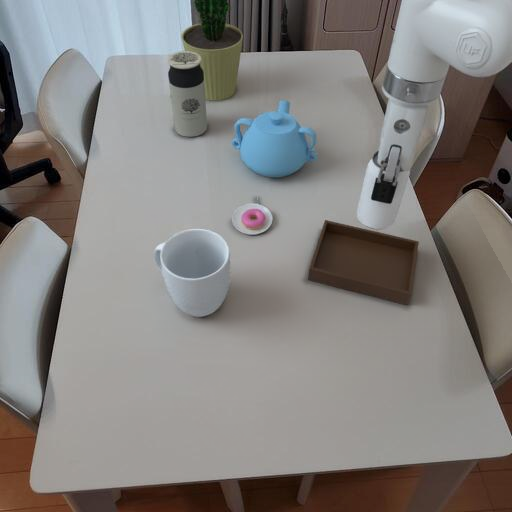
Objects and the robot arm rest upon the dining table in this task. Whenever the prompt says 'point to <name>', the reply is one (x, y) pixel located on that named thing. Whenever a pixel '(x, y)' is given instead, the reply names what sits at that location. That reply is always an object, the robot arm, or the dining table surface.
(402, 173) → the can
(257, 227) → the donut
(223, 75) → the potted cactus
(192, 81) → the travel mug
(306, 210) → the dining table surface
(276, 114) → the teapot
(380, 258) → the tray
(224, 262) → the mug
